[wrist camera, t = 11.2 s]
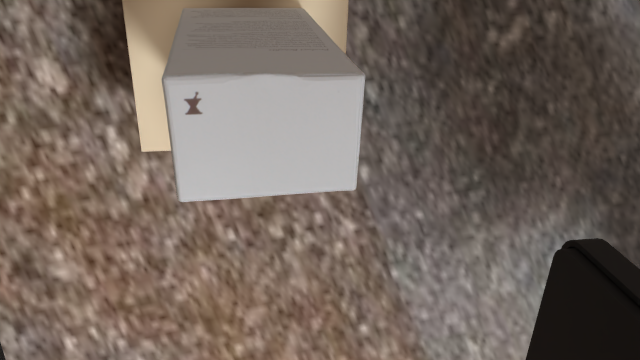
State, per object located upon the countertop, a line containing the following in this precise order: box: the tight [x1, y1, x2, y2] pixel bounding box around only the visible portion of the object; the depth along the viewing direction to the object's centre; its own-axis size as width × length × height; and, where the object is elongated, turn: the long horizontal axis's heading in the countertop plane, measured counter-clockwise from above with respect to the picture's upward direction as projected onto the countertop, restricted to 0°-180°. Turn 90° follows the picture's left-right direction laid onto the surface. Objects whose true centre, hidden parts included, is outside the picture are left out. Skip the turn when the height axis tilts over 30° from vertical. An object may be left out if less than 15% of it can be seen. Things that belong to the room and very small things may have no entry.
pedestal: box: [122, 0, 348, 152], centre depth 28 cm, size 11×11×4 cm
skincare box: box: [161, 8, 365, 202], centre depth 21 cm, size 6×4×12 cm
